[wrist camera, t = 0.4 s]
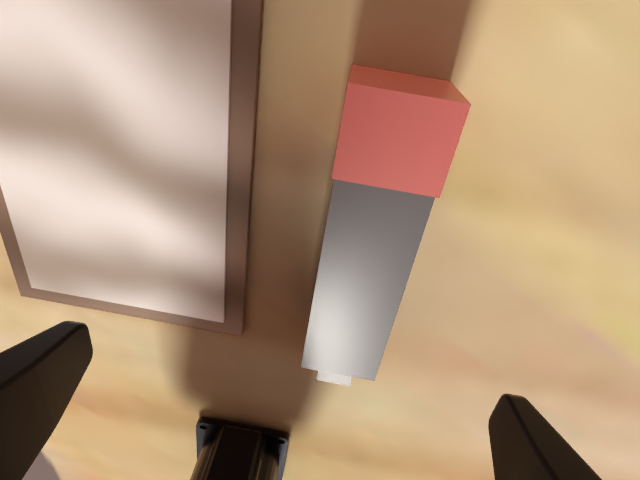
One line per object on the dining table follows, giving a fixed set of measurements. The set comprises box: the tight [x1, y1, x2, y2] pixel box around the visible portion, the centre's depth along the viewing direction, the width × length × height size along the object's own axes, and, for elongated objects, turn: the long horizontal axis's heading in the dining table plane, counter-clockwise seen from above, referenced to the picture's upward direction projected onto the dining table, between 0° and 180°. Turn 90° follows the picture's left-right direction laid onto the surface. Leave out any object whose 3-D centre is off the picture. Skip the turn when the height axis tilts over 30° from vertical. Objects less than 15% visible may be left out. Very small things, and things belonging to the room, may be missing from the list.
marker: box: [301, 64, 471, 386], centre depth 18 cm, size 15×4×4 cm, turn 172°
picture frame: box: [0, 0, 263, 336], centre depth 18 cm, size 20×13×1 cm, turn 172°
